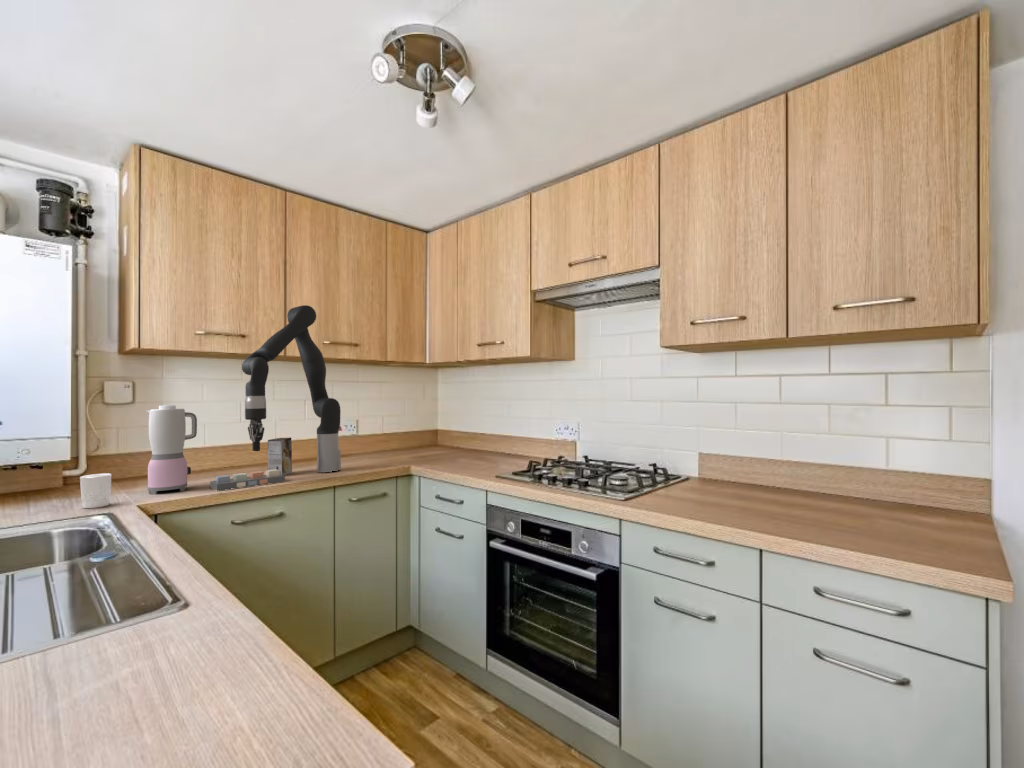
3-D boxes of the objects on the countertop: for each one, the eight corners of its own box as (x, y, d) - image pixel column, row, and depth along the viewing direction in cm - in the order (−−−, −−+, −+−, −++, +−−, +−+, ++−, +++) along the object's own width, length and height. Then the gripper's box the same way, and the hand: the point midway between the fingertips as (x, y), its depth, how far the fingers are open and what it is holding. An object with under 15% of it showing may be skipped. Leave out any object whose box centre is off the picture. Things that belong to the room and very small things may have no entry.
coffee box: (278, 473, 220) (277, 437, 221) (292, 473, 220) (292, 437, 221) (267, 477, 211) (267, 439, 211) (282, 476, 211) (282, 439, 211)
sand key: (276, 476, 203) (275, 469, 203) (279, 477, 200) (279, 470, 200) (265, 477, 200) (265, 470, 200) (269, 478, 197) (268, 471, 197)
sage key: (244, 480, 194) (244, 473, 194) (247, 481, 191) (247, 474, 191) (232, 482, 191) (232, 474, 192) (235, 483, 189) (235, 475, 189)
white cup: (79, 506, 160) (79, 475, 161) (110, 502, 166) (110, 472, 166) (81, 510, 155) (80, 478, 155) (113, 505, 160) (112, 475, 160)
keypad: (276, 479, 205) (275, 473, 205) (284, 481, 198) (284, 475, 198) (210, 487, 189) (210, 481, 189) (217, 491, 181) (217, 484, 181)
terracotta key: (260, 478, 198) (260, 471, 198) (263, 479, 196) (263, 472, 196) (249, 479, 196) (249, 472, 196) (252, 481, 193) (252, 473, 193)
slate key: (227, 482, 190) (226, 475, 190) (230, 484, 187) (229, 476, 187) (215, 484, 187) (215, 476, 187) (218, 485, 184) (218, 477, 184)
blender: (149, 495, 175) (148, 406, 176) (144, 491, 184) (144, 406, 185) (201, 489, 186) (200, 404, 186) (194, 485, 195) (193, 404, 195)
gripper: (271, 407, 194) (272, 451, 194) (260, 407, 203) (260, 448, 203) (250, 407, 189) (251, 453, 188) (240, 407, 198) (240, 450, 198)
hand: (256, 450), depth 196 cm, fingers closed
